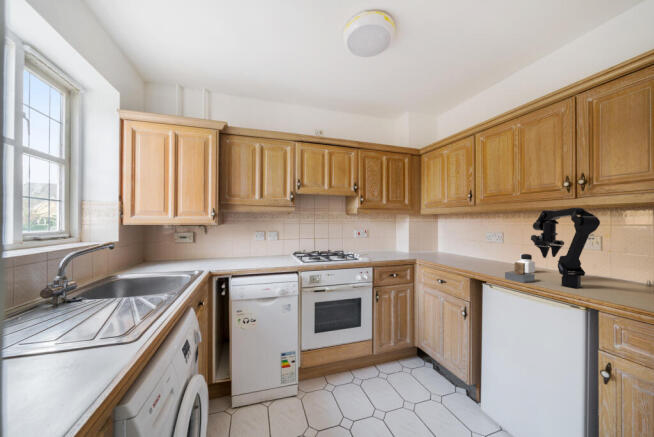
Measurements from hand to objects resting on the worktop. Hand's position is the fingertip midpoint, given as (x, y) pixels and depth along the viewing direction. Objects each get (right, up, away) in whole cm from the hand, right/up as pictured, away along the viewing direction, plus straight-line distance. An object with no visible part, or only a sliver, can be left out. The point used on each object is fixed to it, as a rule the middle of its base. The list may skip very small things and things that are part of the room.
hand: (549, 257), depth 149 cm
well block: (-20, -13, -2) cm, 24 cm away
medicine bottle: (+2, -13, +20) cm, 25 cm away
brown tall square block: (-20, -13, -2) cm, 24 cm away
